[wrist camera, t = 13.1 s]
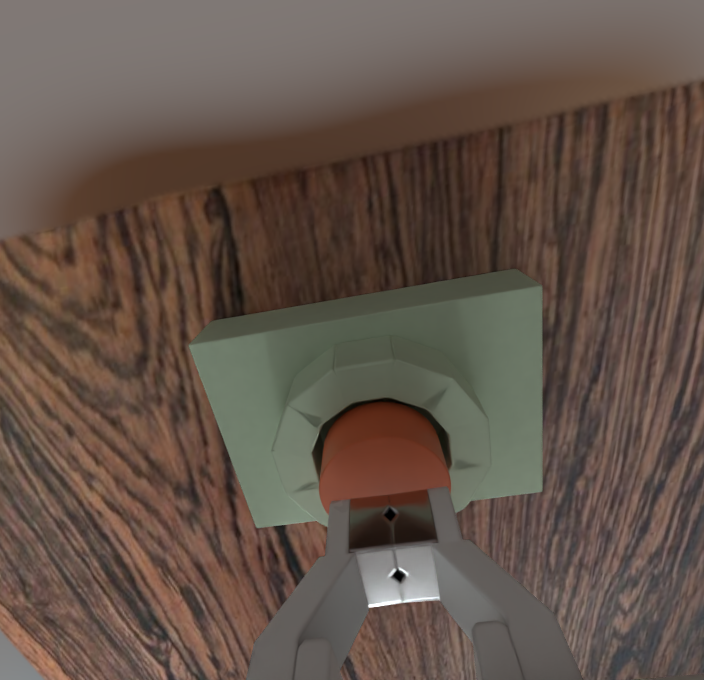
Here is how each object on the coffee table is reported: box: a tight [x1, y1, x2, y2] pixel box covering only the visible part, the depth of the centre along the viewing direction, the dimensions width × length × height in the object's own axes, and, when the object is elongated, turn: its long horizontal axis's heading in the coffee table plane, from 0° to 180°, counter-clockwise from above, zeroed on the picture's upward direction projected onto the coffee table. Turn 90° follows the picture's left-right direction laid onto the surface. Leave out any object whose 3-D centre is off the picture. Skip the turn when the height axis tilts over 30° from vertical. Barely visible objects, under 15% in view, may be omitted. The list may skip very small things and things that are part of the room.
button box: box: [189, 269, 542, 528], centre depth 14 cm, size 11×8×4 cm
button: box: [319, 402, 451, 515], centre depth 12 cm, size 4×4×2 cm
